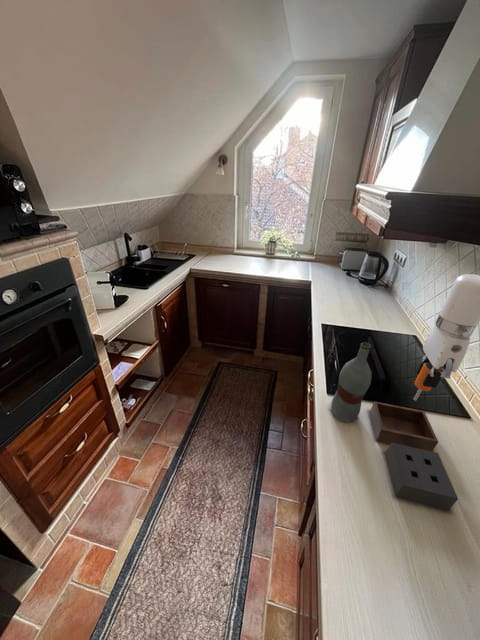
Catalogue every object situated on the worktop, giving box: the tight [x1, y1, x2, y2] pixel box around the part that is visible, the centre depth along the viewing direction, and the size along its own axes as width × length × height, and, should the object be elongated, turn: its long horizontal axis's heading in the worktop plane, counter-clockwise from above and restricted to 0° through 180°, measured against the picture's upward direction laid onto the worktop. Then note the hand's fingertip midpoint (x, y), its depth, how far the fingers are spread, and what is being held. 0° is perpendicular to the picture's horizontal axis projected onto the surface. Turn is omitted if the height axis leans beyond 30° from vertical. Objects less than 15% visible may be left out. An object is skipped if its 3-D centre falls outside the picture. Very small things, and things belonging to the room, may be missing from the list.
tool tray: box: [369, 401, 439, 452], centre depth 83 cm, size 16×12×6 cm
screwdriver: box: [413, 362, 441, 402], centre depth 72 cm, size 4×4×13 cm
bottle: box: [330, 341, 373, 423], centre depth 83 cm, size 9×9×30 cm
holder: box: [384, 443, 459, 511], centre depth 69 cm, size 12×12×6 cm
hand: (425, 379), depth 72 cm, fingers closed on screwdriver, 4 cm apart
